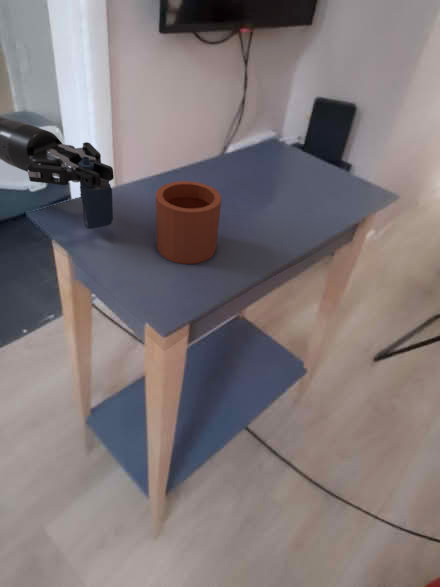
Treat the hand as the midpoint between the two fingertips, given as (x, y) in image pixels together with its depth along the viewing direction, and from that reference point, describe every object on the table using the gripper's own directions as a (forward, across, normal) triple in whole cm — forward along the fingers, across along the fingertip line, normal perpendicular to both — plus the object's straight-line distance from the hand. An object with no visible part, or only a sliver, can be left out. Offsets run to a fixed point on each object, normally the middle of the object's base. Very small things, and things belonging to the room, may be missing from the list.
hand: (105, 177), depth 61 cm
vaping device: (-3, +1, +10) cm, 11 cm away
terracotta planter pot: (+11, +7, +12) cm, 18 cm away
